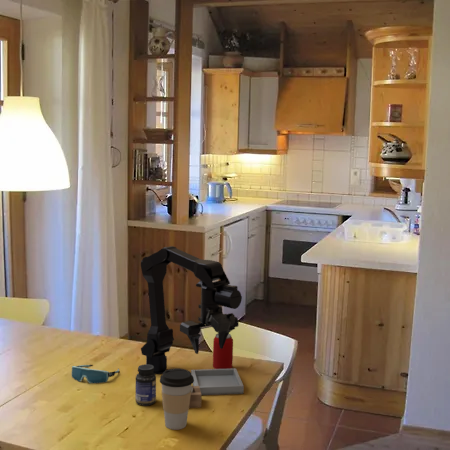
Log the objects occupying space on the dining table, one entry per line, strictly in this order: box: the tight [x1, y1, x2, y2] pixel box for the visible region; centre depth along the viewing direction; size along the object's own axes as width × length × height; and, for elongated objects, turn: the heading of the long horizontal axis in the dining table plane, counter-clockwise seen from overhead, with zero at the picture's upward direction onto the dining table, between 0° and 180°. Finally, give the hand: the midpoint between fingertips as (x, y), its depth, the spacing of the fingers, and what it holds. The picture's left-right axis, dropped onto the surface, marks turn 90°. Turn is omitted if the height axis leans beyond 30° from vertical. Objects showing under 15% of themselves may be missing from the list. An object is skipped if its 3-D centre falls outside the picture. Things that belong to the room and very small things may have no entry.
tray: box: [190, 368, 245, 396], centre depth 208 cm, size 15×15×2 cm
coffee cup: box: [159, 367, 194, 431], centre depth 179 cm, size 9×9×15 cm
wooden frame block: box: [189, 385, 202, 409], centre depth 194 cm, size 6×8×4 cm
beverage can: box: [212, 333, 234, 369], centre depth 222 cm, size 7×7×12 cm
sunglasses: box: [71, 364, 120, 384], centre depth 214 cm, size 14×15×5 cm
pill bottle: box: [135, 363, 157, 407], centre depth 193 cm, size 6×6×11 cm
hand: (209, 350), depth 202 cm, fingers open, 9 cm apart
